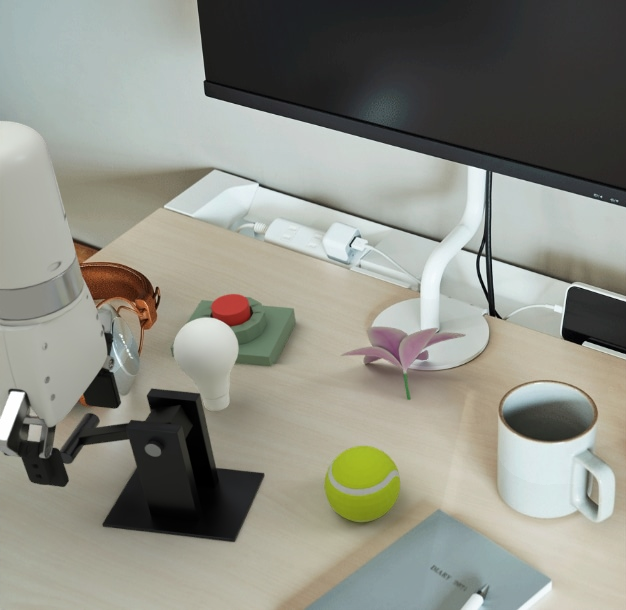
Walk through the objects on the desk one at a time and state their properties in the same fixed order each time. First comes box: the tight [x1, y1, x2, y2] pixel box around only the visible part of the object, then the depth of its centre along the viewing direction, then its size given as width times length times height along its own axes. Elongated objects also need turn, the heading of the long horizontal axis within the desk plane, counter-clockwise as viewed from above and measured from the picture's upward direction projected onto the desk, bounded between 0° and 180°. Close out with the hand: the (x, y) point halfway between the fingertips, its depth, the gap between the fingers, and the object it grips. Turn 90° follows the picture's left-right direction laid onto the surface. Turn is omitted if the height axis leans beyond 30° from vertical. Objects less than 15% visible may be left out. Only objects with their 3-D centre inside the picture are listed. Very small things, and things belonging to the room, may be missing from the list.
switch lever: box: [59, 405, 193, 465], centre depth 79 cm, size 11×5×2 cm, turn 82°
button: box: [211, 293, 251, 327], centre depth 101 cm, size 4×4×2 cm
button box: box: [170, 296, 297, 367], centre depth 103 cm, size 11×9×4 cm
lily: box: [340, 325, 467, 401], centre depth 96 cm, size 12×12×10 cm
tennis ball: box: [324, 445, 401, 523], centre depth 82 cm, size 7×7×7 cm
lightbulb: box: [173, 318, 239, 412], centre depth 91 cm, size 6×6×11 cm
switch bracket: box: [101, 388, 265, 543], centre depth 80 cm, size 12×8×12 cm, turn 82°
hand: (78, 441), depth 81 cm, fingers open, 9 cm apart
